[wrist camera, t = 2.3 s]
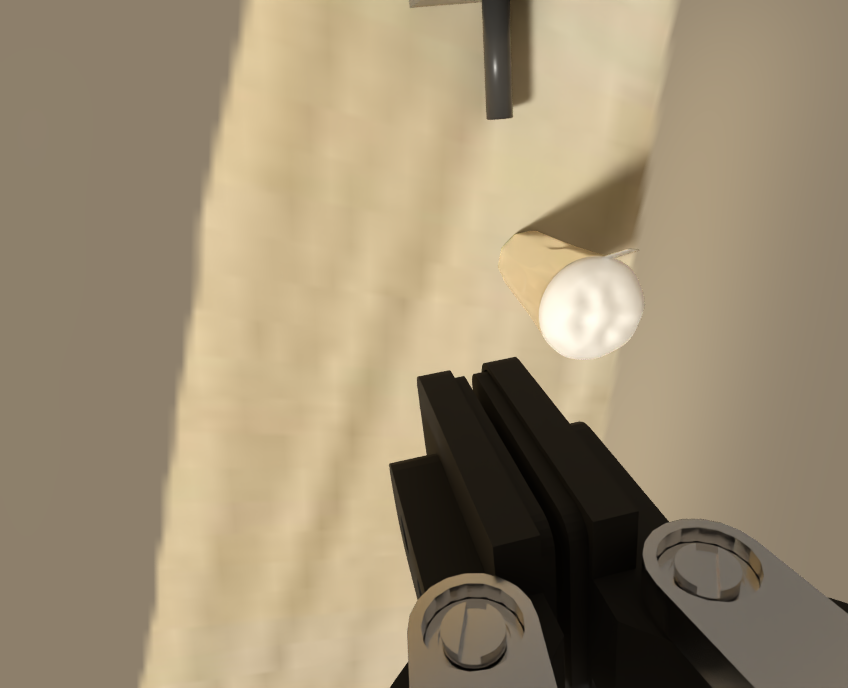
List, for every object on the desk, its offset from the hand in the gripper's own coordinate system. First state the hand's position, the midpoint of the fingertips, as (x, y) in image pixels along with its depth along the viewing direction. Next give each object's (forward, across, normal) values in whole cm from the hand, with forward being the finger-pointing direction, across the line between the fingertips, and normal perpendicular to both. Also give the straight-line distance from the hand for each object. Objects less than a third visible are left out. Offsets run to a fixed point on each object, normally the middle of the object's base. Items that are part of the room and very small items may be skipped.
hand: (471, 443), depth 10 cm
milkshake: (+22, -9, +5) cm, 24 cm away
